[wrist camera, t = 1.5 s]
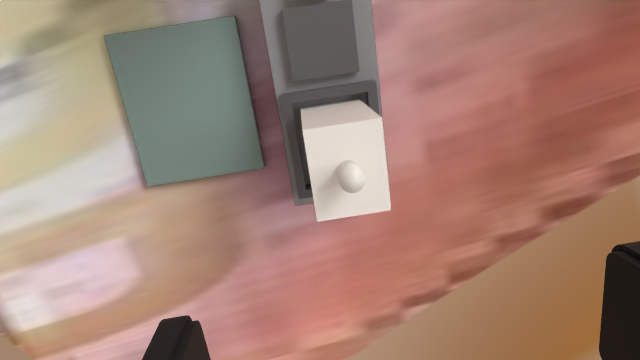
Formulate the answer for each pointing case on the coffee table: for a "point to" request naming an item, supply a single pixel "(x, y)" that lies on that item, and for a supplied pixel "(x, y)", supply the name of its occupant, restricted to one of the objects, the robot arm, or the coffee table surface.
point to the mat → (187, 100)
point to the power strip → (318, 67)
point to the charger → (345, 159)
